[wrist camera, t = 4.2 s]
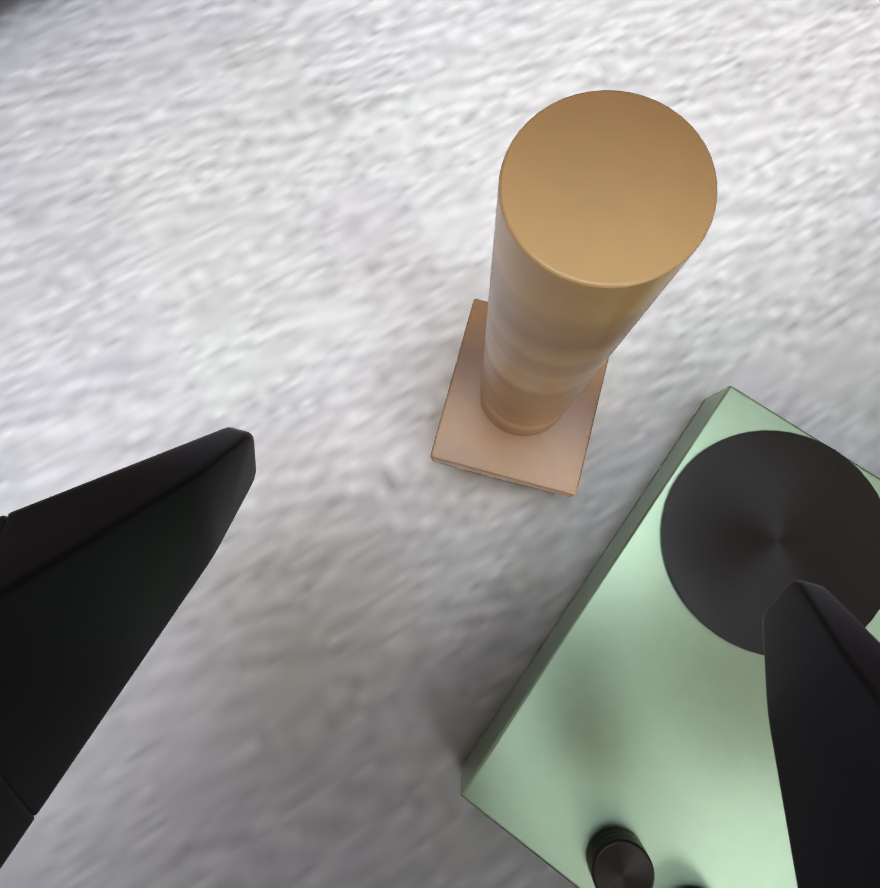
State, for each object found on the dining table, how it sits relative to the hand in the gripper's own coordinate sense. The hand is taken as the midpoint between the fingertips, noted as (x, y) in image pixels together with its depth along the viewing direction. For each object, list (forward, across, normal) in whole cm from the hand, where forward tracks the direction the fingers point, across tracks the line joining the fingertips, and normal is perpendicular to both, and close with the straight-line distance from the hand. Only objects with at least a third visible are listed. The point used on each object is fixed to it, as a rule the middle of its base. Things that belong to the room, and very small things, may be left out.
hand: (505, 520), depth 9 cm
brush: (+11, 0, +5) cm, 12 cm away
